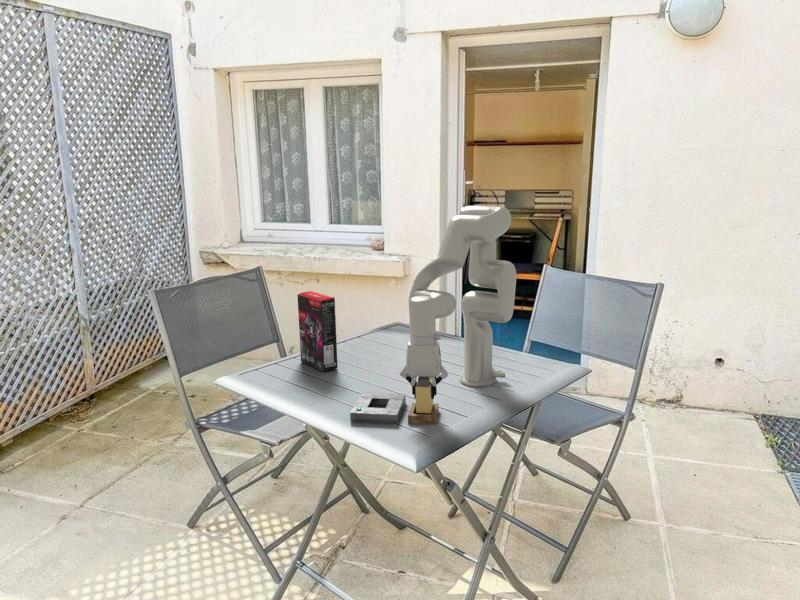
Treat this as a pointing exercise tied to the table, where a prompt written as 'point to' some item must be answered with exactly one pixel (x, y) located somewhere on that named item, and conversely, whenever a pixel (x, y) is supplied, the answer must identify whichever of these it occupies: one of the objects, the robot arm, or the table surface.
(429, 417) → the frame
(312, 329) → the graphics card box
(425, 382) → the plug
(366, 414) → the port
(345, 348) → the table surface
